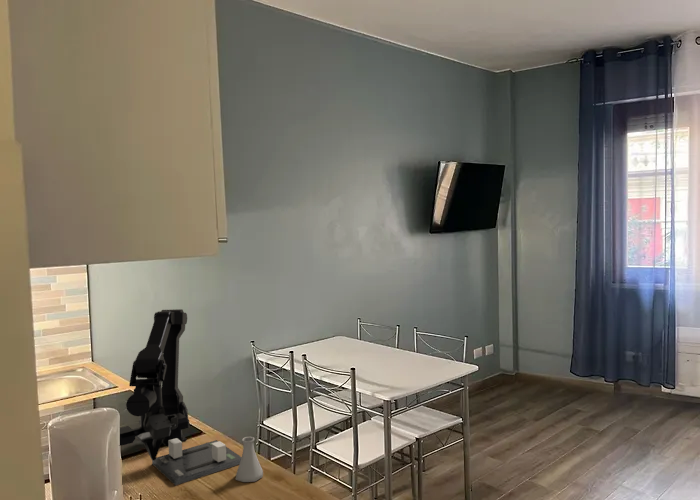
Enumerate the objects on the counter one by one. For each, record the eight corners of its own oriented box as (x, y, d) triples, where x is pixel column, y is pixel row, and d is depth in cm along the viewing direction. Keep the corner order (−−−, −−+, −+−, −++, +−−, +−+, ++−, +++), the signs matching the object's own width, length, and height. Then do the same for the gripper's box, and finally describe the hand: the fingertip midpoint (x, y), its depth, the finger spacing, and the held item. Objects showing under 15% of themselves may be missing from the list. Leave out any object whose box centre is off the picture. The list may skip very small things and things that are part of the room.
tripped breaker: (168, 454, 157) (168, 440, 157) (177, 451, 159) (176, 437, 159) (174, 458, 155) (173, 444, 154) (182, 456, 156) (181, 441, 156)
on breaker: (212, 457, 155) (211, 443, 154) (220, 455, 156) (219, 441, 156) (218, 462, 152) (217, 447, 152) (226, 459, 153) (225, 445, 153)
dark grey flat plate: (152, 464, 156) (152, 458, 156) (216, 445, 168) (216, 439, 168) (175, 485, 143) (175, 479, 143) (243, 463, 155) (242, 457, 155)
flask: (257, 484, 143) (256, 445, 143) (230, 482, 145) (229, 443, 144) (267, 471, 150) (266, 434, 150) (241, 469, 152) (240, 432, 151)
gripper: (124, 419, 140) (127, 481, 141) (196, 402, 151) (199, 459, 153) (110, 407, 148) (113, 466, 149) (180, 392, 160) (182, 446, 161)
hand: (153, 459), depth 153 cm, fingers closed
